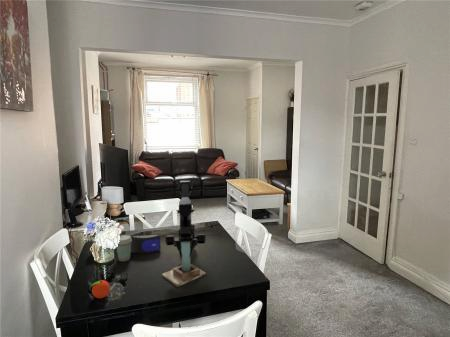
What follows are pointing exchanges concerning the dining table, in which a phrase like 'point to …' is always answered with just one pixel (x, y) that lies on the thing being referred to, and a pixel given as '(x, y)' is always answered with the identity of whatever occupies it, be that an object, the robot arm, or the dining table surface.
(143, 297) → the dining table surface
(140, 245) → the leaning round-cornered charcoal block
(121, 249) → the coffee cup
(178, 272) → the keyhole socket
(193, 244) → the robot arm
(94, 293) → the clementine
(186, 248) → the peg
